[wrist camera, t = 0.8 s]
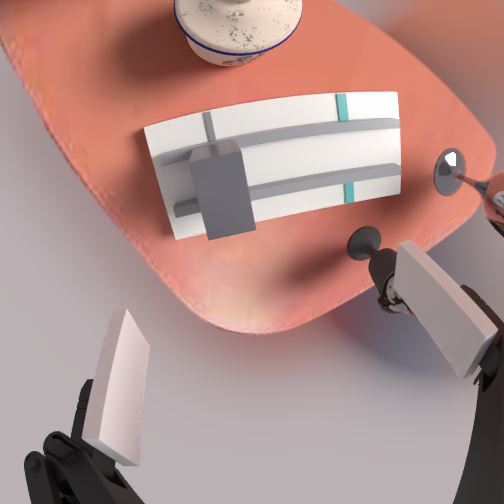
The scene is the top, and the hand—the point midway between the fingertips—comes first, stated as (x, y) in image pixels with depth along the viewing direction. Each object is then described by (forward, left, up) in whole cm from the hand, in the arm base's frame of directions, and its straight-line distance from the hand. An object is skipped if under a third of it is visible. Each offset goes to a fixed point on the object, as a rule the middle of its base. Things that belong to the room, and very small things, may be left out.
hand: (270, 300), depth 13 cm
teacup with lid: (-17, +4, -19) cm, 26 cm away
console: (-2, +6, -19) cm, 20 cm away
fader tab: (-2, -1, -17) cm, 17 cm away
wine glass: (+3, +30, -19) cm, 36 cm away
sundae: (+11, +15, -19) cm, 27 cm away
